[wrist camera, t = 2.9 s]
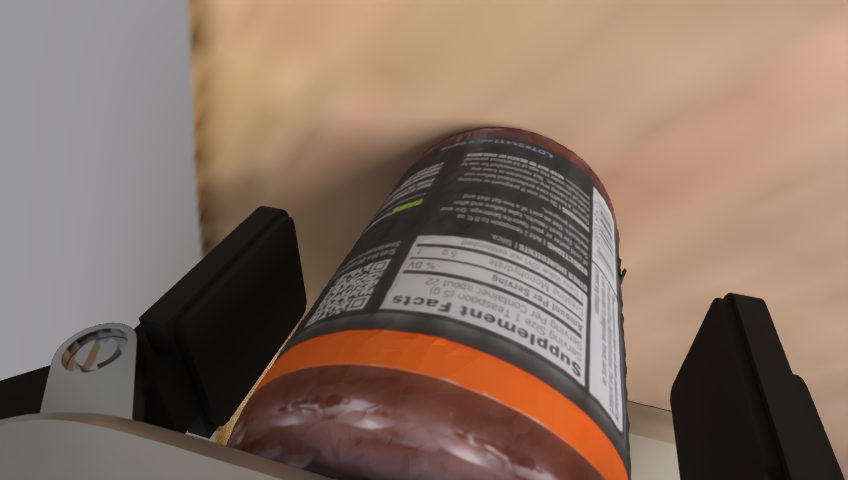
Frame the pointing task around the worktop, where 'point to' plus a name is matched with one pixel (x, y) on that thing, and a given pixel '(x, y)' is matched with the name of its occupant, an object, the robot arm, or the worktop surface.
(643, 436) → the pin board
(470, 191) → the supplement bottle
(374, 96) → the worktop surface
